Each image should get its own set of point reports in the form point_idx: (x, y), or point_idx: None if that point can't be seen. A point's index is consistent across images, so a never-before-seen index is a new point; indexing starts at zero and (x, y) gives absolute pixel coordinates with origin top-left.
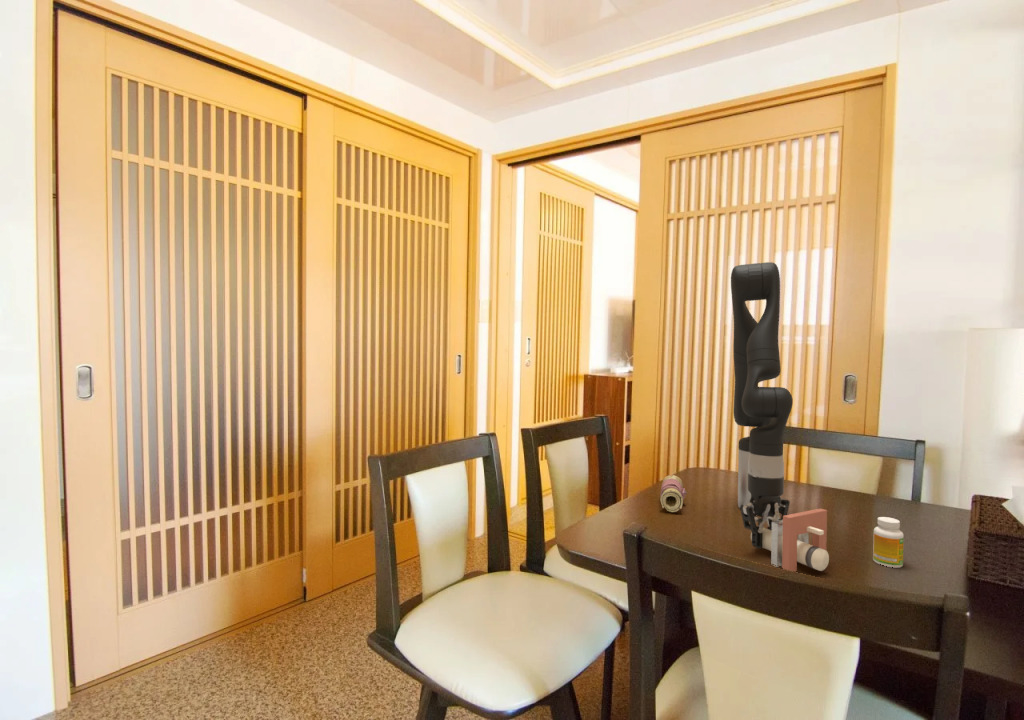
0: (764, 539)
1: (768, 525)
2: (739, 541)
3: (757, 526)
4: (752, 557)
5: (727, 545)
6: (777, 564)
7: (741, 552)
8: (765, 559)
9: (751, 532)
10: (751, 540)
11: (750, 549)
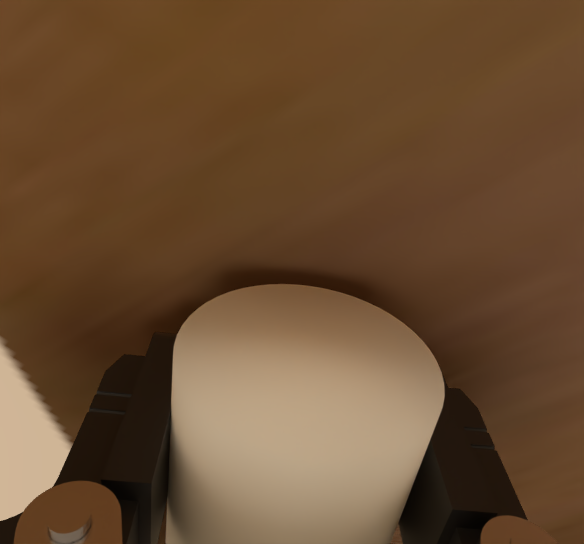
0: (169, 517)
1: (483, 531)
2: (334, 6)
3: (299, 470)
4: (58, 355)
5: (53, 4)
6: None
7: (50, 239)
8: None
9: (181, 380)
10: (197, 310)
11: (213, 241)
